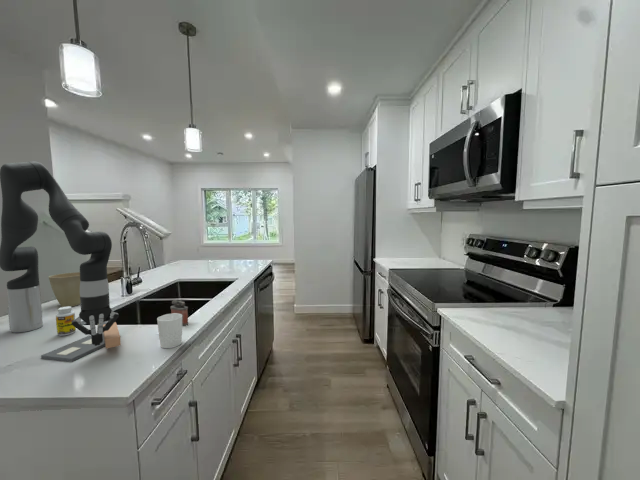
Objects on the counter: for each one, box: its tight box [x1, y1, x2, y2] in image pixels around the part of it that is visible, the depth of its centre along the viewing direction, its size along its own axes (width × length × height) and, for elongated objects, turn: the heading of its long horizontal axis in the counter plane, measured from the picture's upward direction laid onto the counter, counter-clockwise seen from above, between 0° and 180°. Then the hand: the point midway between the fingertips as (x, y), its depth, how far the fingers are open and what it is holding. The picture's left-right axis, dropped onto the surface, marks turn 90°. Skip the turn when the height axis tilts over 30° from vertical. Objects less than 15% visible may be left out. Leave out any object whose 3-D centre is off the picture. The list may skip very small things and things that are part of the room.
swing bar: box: [103, 320, 122, 349], centre depth 105 cm, size 21×4×4 cm, turn 39°
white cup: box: [156, 313, 183, 349], centre depth 104 cm, size 8×8×10 cm
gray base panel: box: [40, 333, 106, 363], centre depth 104 cm, size 12×22×1 cm, turn 169°
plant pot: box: [48, 271, 81, 308], centre depth 150 cm, size 15×15×16 cm
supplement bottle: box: [55, 306, 77, 337], centre depth 114 cm, size 6×6×10 cm
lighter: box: [170, 300, 189, 327], centre depth 123 cm, size 8×3×10 cm, turn 71°
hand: (97, 344), depth 97 cm, fingers closed
